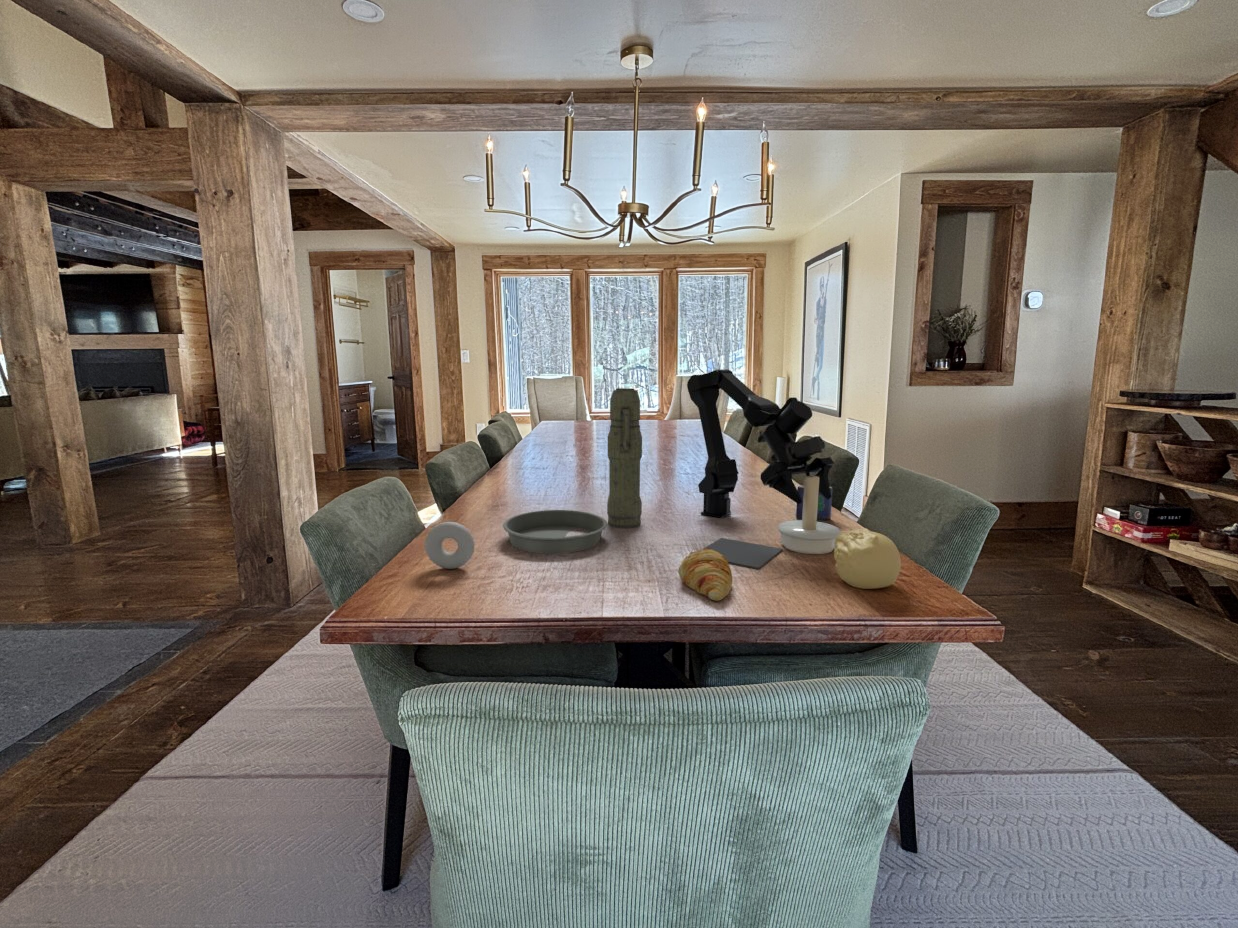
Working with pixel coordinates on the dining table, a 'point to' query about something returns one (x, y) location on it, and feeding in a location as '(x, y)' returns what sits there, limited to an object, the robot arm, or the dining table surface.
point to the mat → (744, 552)
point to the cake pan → (554, 530)
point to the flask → (823, 506)
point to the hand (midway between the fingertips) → (815, 500)
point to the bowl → (807, 545)
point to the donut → (446, 558)
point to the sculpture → (866, 559)
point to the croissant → (707, 573)
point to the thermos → (624, 459)
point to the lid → (809, 517)
